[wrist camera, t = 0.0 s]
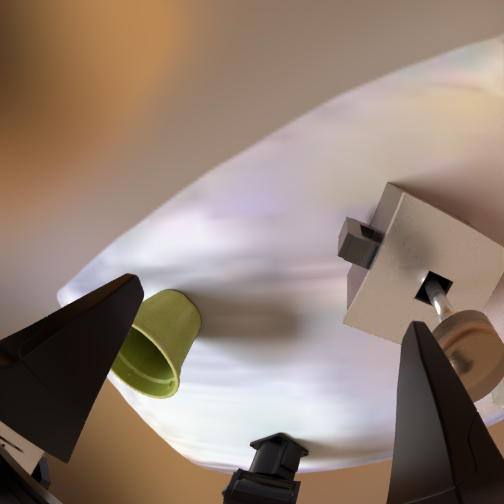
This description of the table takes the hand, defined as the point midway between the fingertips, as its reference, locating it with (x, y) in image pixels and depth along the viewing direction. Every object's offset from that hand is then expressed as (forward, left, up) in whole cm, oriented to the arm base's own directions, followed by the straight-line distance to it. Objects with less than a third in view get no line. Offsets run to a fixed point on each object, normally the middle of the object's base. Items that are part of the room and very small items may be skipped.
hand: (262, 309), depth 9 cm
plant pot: (-18, +2, -16) cm, 24 cm away
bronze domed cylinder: (+4, -8, -10) cm, 13 cm away
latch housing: (+4, -8, -15) cm, 18 cm away
